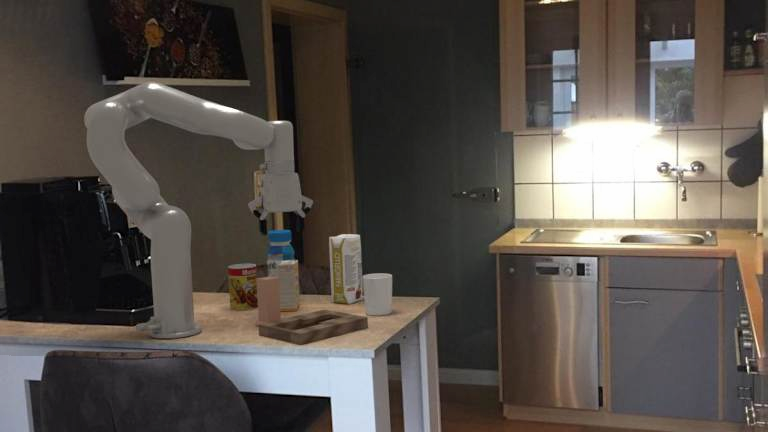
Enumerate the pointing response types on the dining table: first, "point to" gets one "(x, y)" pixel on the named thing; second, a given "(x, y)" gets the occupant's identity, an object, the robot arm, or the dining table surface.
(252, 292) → the canned food
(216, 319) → the dining table surface
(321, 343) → the dining table surface
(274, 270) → the beverage bottle
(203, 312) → the dining table surface
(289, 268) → the supplement box
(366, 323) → the keyhole plate
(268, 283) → the footed peg
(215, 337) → the dining table surface
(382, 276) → the white cup
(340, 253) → the juice carton
